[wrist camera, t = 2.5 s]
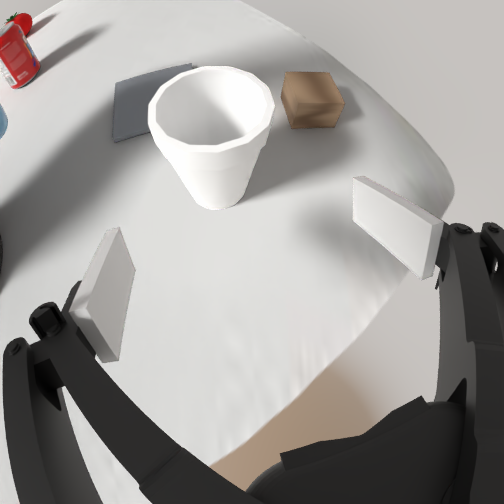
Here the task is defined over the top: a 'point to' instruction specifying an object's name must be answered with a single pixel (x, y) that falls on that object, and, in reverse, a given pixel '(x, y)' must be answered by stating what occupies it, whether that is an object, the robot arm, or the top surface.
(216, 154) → the foam cup
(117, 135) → the mat
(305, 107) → the walnut block
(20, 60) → the soda can
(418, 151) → the top surface
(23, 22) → the tomato
